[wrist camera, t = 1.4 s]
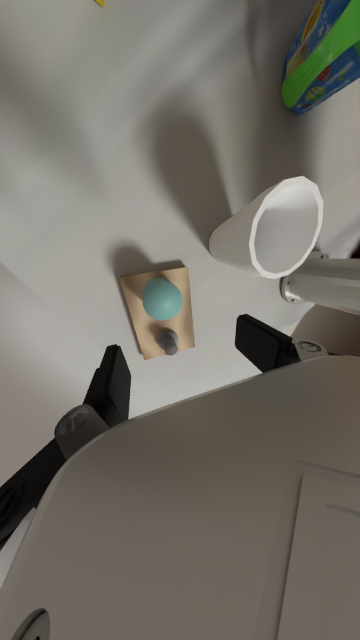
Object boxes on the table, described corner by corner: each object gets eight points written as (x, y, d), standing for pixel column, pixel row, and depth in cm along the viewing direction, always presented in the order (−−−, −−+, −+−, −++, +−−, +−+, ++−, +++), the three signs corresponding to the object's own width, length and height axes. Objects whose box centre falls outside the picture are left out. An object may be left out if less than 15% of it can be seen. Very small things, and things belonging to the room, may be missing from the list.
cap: (173, 274, 25) (180, 278, 21) (177, 306, 28) (184, 316, 23) (138, 280, 24) (137, 285, 19) (146, 312, 27) (147, 324, 22)
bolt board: (185, 266, 26) (195, 268, 22) (192, 343, 34) (201, 357, 29) (120, 276, 24) (115, 281, 19) (144, 355, 32) (144, 373, 27)
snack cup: (268, 160, 23) (350, 98, 14) (245, 62, 18) (349, -131, 9) (348, 90, 22) (493, -26, 13) (347, -35, 17) (581, -363, 8)
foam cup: (191, 247, 25) (232, 239, 14) (224, 200, 24) (303, 146, 12) (223, 279, 29) (275, 293, 18) (253, 241, 28) (332, 229, 16)
